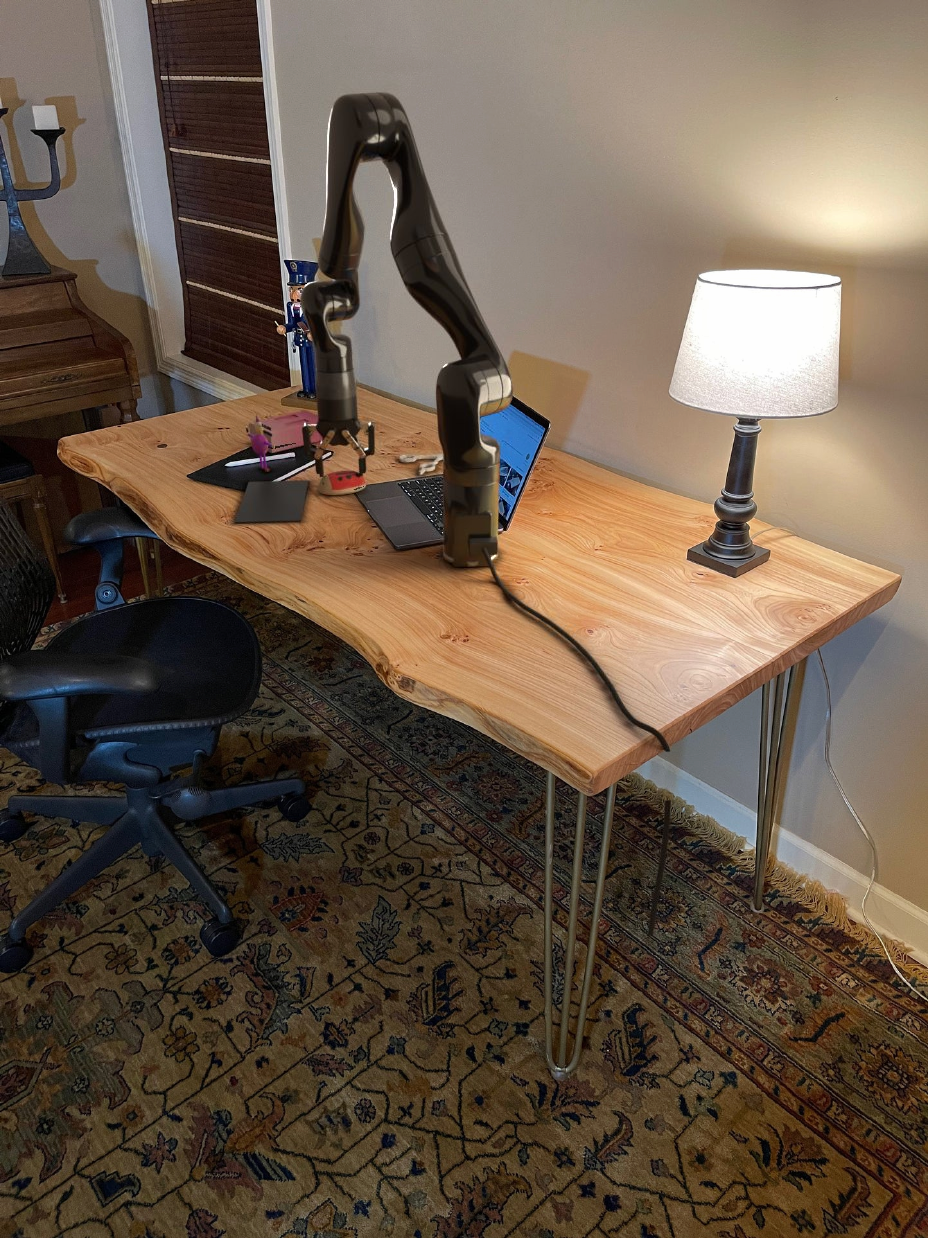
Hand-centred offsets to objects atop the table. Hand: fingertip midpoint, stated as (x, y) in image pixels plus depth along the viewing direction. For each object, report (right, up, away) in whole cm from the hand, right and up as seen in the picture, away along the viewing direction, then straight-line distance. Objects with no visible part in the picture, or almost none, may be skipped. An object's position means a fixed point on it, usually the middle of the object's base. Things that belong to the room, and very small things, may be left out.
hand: (341, 475), depth 177 cm
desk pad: (-13, -6, -4) cm, 14 cm away
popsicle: (-13, +13, +29) cm, 34 cm away
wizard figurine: (-18, +2, +11) cm, 21 cm away
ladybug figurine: (0, -3, +2) cm, 3 cm away
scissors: (+20, +6, +18) cm, 27 cm away
